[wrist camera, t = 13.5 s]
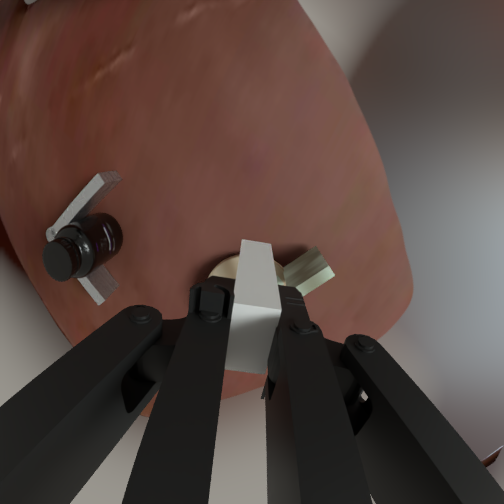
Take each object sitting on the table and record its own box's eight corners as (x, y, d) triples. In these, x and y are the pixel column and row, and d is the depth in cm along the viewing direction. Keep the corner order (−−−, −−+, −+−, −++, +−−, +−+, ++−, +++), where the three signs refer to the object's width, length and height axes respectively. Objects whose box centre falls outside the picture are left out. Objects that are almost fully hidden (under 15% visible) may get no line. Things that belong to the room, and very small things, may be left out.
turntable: (293, 212, 34) (301, 225, 28) (340, 284, 37) (355, 309, 31) (187, 285, 38) (174, 311, 31) (240, 344, 41) (237, 376, 34)
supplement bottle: (133, 233, 37) (89, 263, 25) (109, 265, 38) (66, 302, 27) (100, 201, 35) (48, 220, 24) (79, 235, 37) (29, 262, 26)
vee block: (66, 167, 34) (46, 170, 29) (123, 171, 34) (105, 173, 29) (68, 278, 39) (51, 291, 35) (119, 291, 40) (105, 307, 35)
